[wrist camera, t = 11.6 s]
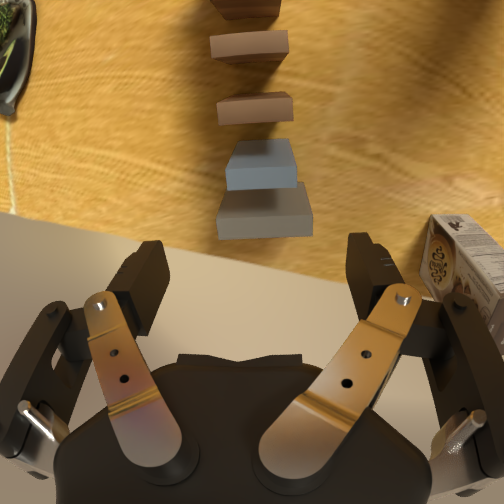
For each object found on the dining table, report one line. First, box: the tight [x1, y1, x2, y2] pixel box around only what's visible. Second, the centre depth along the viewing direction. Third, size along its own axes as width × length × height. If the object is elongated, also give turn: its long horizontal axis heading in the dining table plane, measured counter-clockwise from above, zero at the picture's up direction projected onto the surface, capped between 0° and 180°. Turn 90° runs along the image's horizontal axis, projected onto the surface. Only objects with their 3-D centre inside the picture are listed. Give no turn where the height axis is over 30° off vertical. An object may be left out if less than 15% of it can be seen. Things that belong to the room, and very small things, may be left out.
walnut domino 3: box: [216, 92, 294, 126], centre depth 23 cm, size 2×5×10 cm, turn 95°
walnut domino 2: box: [209, 30, 289, 64], centre depth 20 cm, size 2×5×10 cm, turn 94°
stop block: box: [216, 182, 313, 240], centre depth 29 cm, size 2×8×8 cm, turn 95°
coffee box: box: [419, 214, 504, 356], centre depth 28 cm, size 9×6×16 cm
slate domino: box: [225, 139, 297, 191], centre depth 26 cm, size 2×5×10 cm, turn 94°
